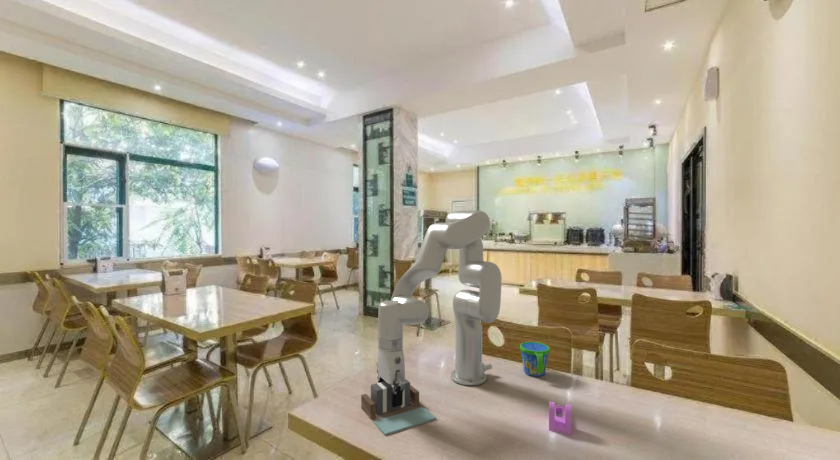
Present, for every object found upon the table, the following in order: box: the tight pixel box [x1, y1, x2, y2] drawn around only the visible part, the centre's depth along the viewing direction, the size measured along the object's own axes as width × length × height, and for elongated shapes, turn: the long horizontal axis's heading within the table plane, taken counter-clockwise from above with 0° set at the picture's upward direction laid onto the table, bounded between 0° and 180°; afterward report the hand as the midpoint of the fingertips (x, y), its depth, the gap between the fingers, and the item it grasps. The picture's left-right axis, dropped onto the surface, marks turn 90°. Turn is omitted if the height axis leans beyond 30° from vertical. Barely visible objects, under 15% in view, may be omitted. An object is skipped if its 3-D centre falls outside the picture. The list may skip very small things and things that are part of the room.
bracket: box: [548, 400, 572, 435], centre depth 104 cm, size 13×6×7 cm, turn 160°
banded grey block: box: [370, 378, 411, 415], centre depth 111 cm, size 11×4×7 cm, turn 121°
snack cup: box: [519, 341, 551, 378], centre depth 136 cm, size 16×10×10 cm
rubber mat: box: [373, 406, 437, 436], centre depth 103 cm, size 16×7×1 cm, turn 121°
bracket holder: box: [360, 384, 420, 420], centre depth 111 cm, size 16×7×4 cm, turn 121°
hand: (389, 398), depth 111 cm, fingers open, 9 cm apart
